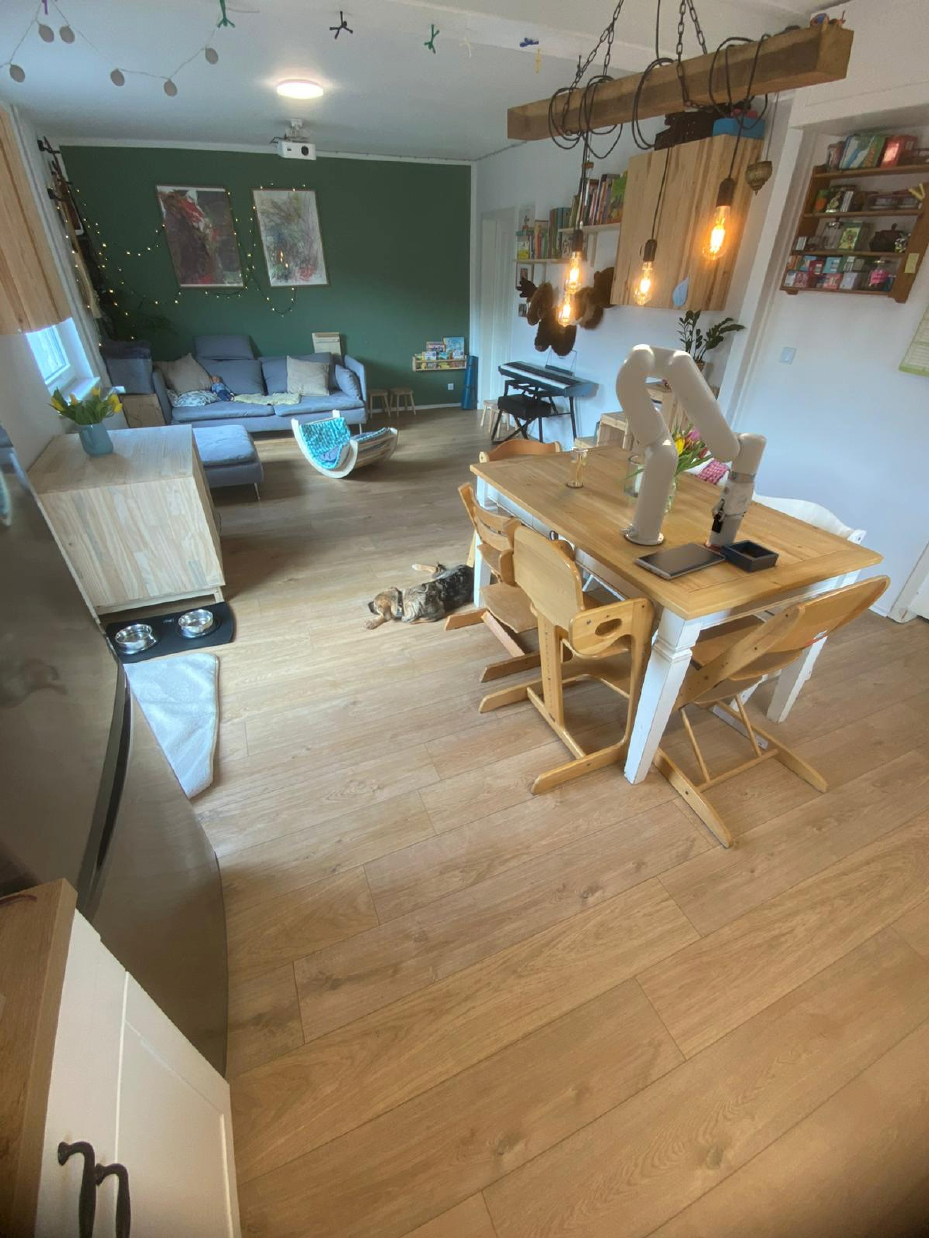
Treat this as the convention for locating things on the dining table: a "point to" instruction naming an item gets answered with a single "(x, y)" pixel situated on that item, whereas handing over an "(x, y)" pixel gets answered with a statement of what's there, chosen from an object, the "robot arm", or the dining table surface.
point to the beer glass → (577, 466)
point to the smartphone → (679, 560)
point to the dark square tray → (761, 554)
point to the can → (726, 530)
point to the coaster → (712, 547)
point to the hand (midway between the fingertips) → (724, 529)
